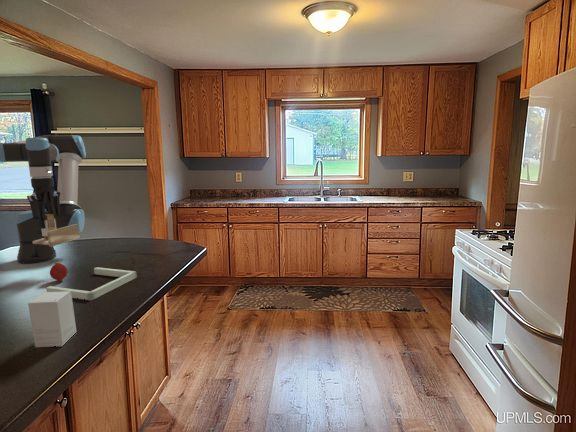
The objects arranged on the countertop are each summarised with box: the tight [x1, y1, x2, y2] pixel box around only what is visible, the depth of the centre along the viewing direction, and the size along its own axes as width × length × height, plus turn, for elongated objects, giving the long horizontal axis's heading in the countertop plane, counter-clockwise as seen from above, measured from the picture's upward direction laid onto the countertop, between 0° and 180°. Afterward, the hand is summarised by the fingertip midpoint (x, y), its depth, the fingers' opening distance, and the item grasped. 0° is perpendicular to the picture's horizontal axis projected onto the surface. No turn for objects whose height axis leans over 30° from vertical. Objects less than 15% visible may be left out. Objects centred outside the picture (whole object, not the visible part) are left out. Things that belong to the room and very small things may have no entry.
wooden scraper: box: [33, 214, 81, 247], centre depth 147 cm, size 11×14×11 cm
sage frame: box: [46, 266, 138, 301], centre depth 137 cm, size 20×23×2 cm
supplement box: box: [27, 291, 78, 348], centre depth 97 cm, size 7×7×13 cm
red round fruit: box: [49, 261, 69, 282], centre depth 141 cm, size 6×6×8 cm
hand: (49, 234), depth 148 cm, fingers closed on wooden scraper, 3 cm apart
